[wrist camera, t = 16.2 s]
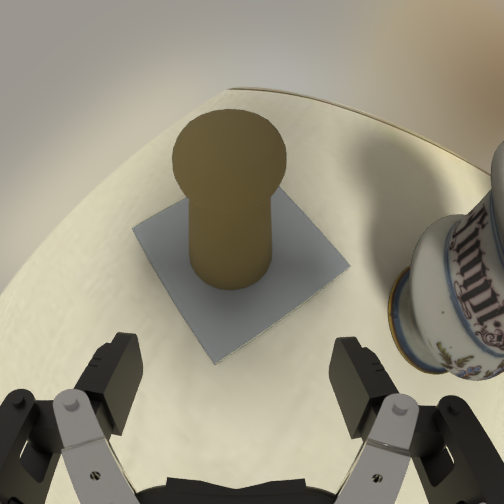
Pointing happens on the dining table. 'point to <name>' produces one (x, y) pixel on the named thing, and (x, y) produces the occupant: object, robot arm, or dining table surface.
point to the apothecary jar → (456, 291)
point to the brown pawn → (229, 194)
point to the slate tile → (247, 299)
